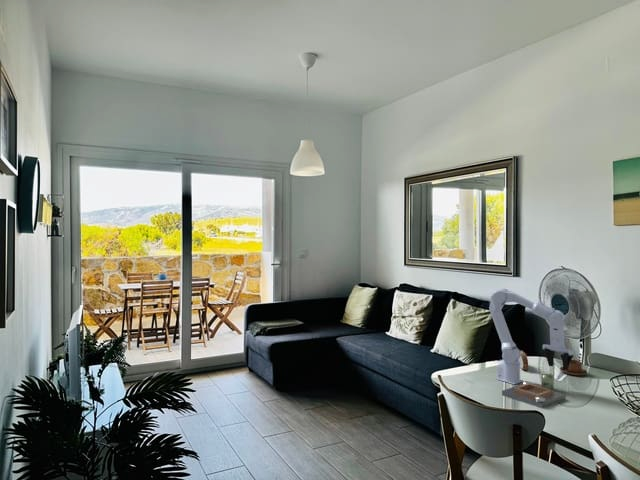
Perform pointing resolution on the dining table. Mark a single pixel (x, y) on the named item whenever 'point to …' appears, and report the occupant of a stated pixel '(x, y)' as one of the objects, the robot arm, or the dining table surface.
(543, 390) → the grey square slab
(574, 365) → the cup and saucer
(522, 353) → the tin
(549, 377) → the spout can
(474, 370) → the dining table surface
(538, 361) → the dining table surface
